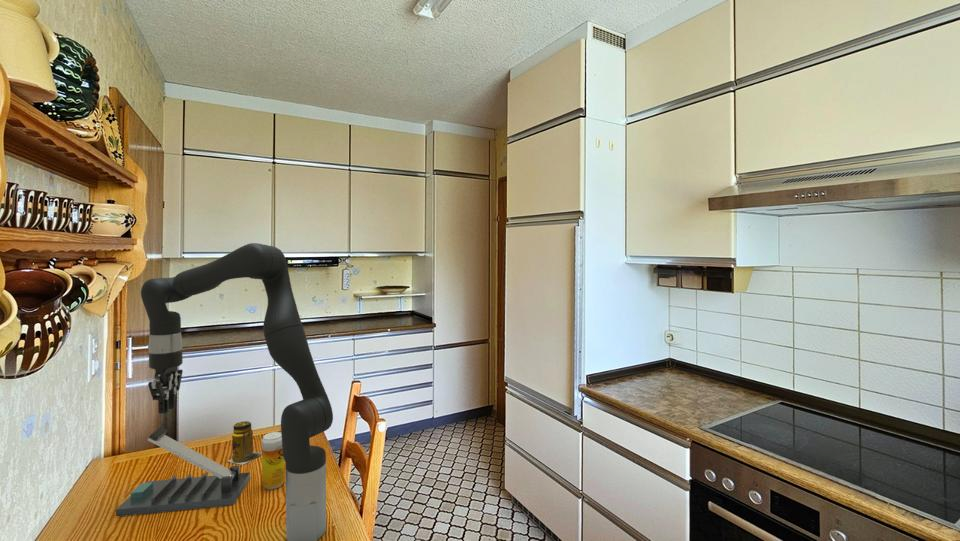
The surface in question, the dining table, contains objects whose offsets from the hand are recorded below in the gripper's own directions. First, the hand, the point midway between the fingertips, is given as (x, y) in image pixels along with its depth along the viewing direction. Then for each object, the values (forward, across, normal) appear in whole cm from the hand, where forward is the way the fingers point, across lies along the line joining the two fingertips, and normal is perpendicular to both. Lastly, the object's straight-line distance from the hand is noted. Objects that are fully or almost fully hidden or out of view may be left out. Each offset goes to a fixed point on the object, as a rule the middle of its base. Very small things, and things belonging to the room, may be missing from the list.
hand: (167, 410), depth 119 cm
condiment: (+25, +22, -13) cm, 36 cm away
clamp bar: (+15, 0, -6) cm, 16 cm away
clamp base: (+25, 0, -5) cm, 26 cm away
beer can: (+25, +2, -27) cm, 37 cm away
